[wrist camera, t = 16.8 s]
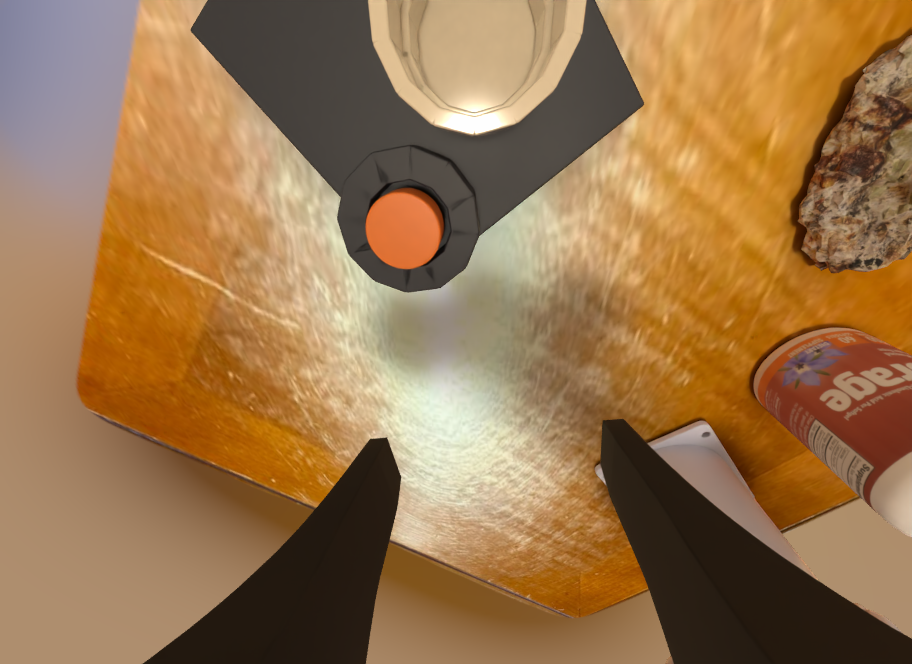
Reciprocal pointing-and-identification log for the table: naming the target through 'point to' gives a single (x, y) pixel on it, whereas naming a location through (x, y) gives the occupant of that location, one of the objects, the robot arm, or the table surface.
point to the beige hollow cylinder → (475, 57)
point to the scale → (407, 121)
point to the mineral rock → (865, 174)
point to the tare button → (405, 228)
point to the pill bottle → (848, 411)
